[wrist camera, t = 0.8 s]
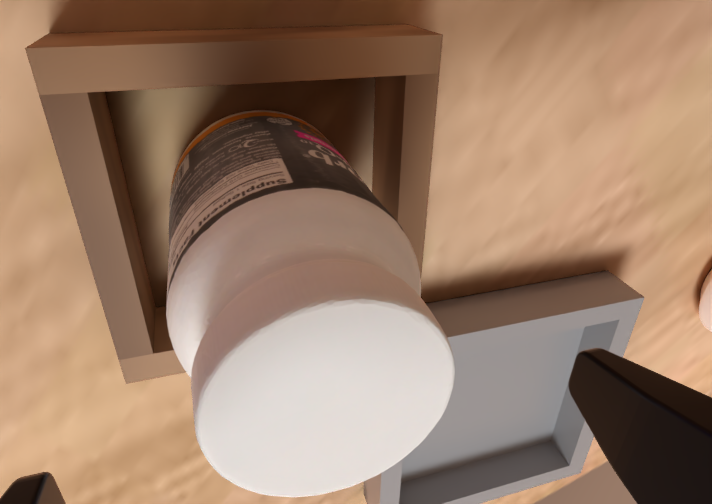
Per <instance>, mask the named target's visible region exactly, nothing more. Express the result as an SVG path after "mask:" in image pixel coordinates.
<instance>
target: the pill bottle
mask: <svg viewBox="0 0 712 504" xmlns="http://www.w3.org/2000/svg"><path fill="white" fill-rule="evenodd" d="M166 318H167V326H168V331H169V337H170V339H171V342H172V346H173V348H174V351H175V353H176V355H177V357H178V359H179V361H180V363H181V365H182V366H183V368H184V370H185V371H186V372H187V374H188V375H189V376H190V378H191V389H192V398H193V413H194V423H195V431H196V437H197V440H198V443H199V445H200V448H201V450H202V452H203V453H204V455H205V457H206V459H207V460H208V462H209V463H210V464H211V466H212V467H213V468H214V469H215V470H216V471H217V472H218V473H219V474H220V475H221V476H223V477H224V478H225V479H227V480H228V481H230V482H232V483H233V484H235V485H237V486H239V487H242V488H244V489H246V490H249V491H253V492H256V493H259V494H264V495H270V496H283V497H304V496H315V495H321V494H325V493H330V492H334V491H337V490H341V489H345V488H348V487H351V486H354V485H356V484H359V483H361V482H363V481H366V480H368V479H370V478H372V477H374V476H377V475H379V474H380V473H382V472H384V471H385V470H387V469H389V468H390V467H392V466H393V465H395V464H396V463H398V462H399V461H400V460H402V459H403V458H404V457H406V456H407V455H408V454H409V453H410V452H411V451H412V450H413V449H415V448H416V447H417V446H418V445H419V444H420V443H421V442H422V441H423V440H424V439H425V438H426V437H427V435H428V434H429V433H430V432H431V430H432V429H433V428H434V426H435V425H436V424H437V422H438V421H439V420H440V418H441V417H442V415H443V413H444V411H445V409H446V407H447V404H448V402H449V399H450V396H451V392H452V389H453V385H454V376H455V366H454V358H453V353H452V349H451V346H450V343H449V341H448V339H447V336H446V334H445V333H444V331H443V329H442V327H441V326H440V324H439V323H438V321H437V320H436V318H435V317H434V315H433V314H432V312H431V311H430V309H429V308H428V306H427V305H426V304H425V302H424V301H423V300H422V298H421V278H420V271H419V266H418V262H417V258H416V255H415V253H414V250H413V248H412V246H411V243H410V241H409V239H408V237H407V236H406V234H405V232H404V231H403V229H402V227H401V226H400V225H399V223H398V222H397V221H396V219H395V218H394V217H393V216H392V214H391V213H390V212H389V211H388V210H387V209H386V208H385V207H384V206H383V205H382V204H381V203H380V201H379V200H378V199H377V198H376V197H375V196H374V195H373V193H372V192H371V191H370V190H369V188H368V187H367V186H366V185H365V183H364V182H363V181H362V180H361V178H360V177H359V176H358V175H357V173H356V172H355V170H354V169H353V168H352V167H351V166H350V165H349V163H348V162H347V161H346V159H345V158H344V157H343V156H342V155H341V154H340V153H339V152H338V150H337V149H336V148H335V147H334V146H333V145H332V143H331V142H330V141H329V140H328V139H327V138H326V137H325V136H324V135H323V134H322V133H321V132H320V131H319V130H317V129H316V128H315V127H313V126H312V125H310V124H309V123H307V122H305V121H304V120H302V119H300V118H297V117H295V116H292V115H290V114H286V113H282V112H277V111H270V110H252V111H244V112H240V113H236V114H232V115H230V116H227V117H225V118H223V119H220V120H218V121H216V122H215V123H213V124H211V125H210V126H208V127H207V128H206V129H204V130H203V131H202V132H201V133H200V134H198V135H197V136H196V137H195V138H194V140H193V141H192V142H191V143H190V144H189V145H188V147H187V148H186V150H185V151H184V153H183V154H182V156H181V158H180V160H179V162H178V164H177V167H176V169H175V173H174V176H173V181H172V187H171V196H170V215H169V262H168V281H167V302H166Z"/></svg>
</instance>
